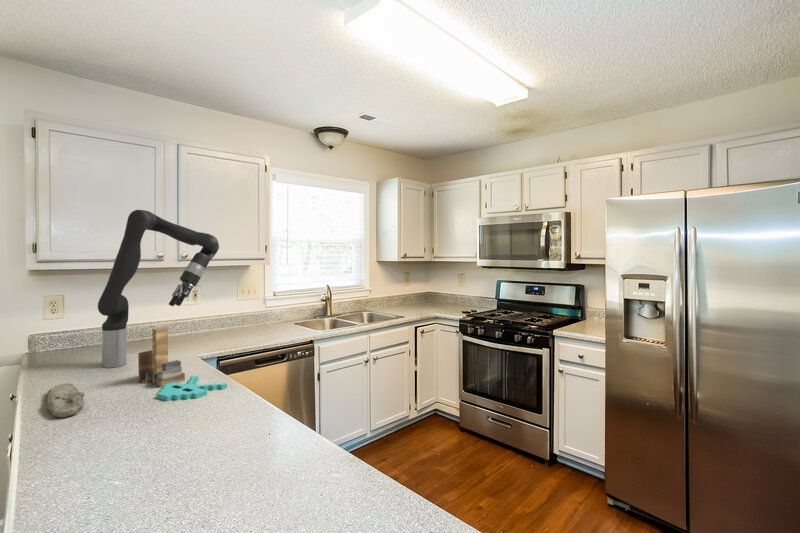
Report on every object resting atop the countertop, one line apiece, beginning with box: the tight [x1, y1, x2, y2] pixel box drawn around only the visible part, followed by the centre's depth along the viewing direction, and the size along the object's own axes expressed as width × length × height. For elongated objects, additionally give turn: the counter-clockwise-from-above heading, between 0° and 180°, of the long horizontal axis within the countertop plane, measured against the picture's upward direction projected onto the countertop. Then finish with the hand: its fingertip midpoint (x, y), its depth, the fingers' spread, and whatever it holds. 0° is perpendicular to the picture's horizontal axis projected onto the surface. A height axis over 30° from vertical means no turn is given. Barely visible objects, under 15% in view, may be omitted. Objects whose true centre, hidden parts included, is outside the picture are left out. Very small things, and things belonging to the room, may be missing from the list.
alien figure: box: [155, 375, 228, 402], centre depth 154 cm, size 20×2×20 cm
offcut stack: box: [155, 359, 186, 388], centre depth 162 cm, size 4×10×8 cm, turn 154°
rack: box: [137, 349, 157, 386], centre depth 166 cm, size 10×10×12 cm
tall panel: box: [151, 326, 169, 374], centre depth 165 cm, size 2×5×22 cm, turn 154°
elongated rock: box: [45, 382, 85, 418], centre depth 141 cm, size 35×5×10 cm
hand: (173, 305), depth 176 cm, fingers open, 8 cm apart
